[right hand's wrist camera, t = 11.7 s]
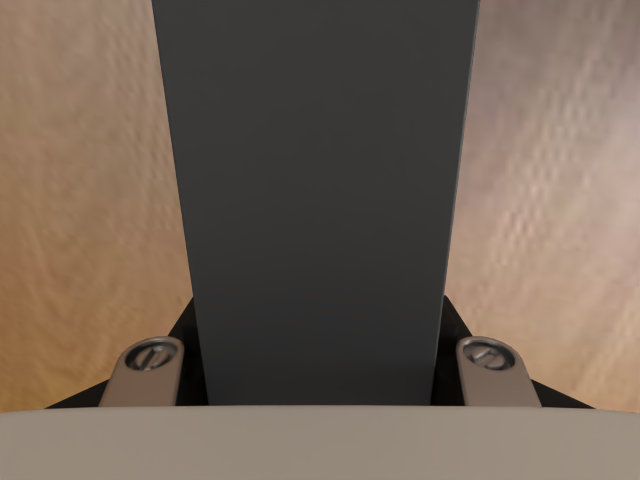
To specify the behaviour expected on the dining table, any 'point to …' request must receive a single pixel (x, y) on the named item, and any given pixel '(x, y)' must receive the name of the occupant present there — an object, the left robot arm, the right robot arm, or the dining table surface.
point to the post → (317, 189)
